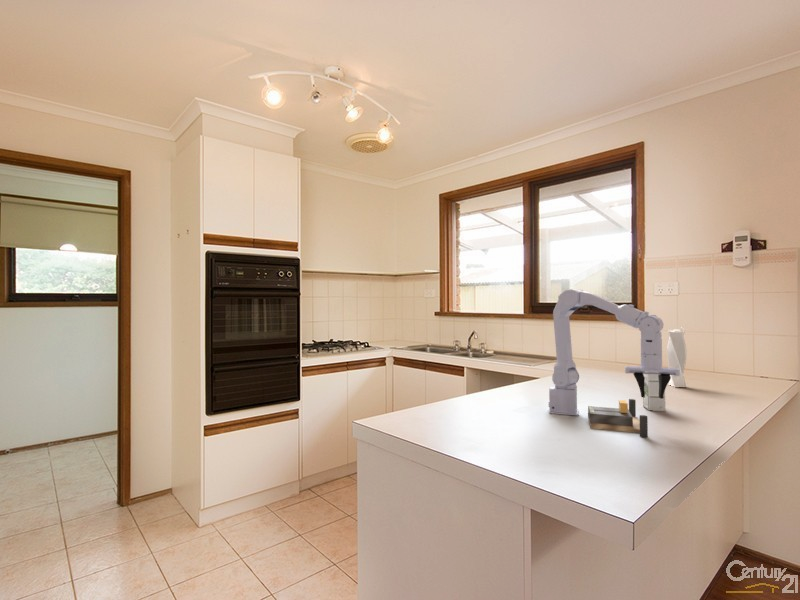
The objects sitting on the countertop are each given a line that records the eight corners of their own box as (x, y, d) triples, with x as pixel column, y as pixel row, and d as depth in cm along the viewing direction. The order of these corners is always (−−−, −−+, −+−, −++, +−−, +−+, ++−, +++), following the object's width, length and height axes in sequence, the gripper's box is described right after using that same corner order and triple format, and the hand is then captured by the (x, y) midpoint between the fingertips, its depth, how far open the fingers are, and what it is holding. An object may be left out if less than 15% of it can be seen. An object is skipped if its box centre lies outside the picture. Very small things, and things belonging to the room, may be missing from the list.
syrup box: (666, 411, 149) (665, 371, 149) (648, 410, 150) (647, 370, 150) (659, 407, 154) (659, 368, 155) (642, 406, 156) (641, 368, 156)
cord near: (640, 437, 121) (640, 416, 121) (639, 435, 122) (639, 414, 123) (648, 438, 120) (648, 417, 120) (647, 436, 122) (646, 415, 122)
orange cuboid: (620, 412, 131) (620, 403, 131) (618, 409, 135) (618, 400, 135) (627, 413, 130) (627, 403, 131) (625, 409, 135) (625, 400, 135)
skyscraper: (691, 388, 188) (690, 326, 188) (674, 388, 188) (674, 326, 188) (679, 384, 196) (679, 325, 196) (663, 385, 196) (663, 325, 196)
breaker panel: (590, 428, 130) (590, 415, 130) (587, 415, 144) (587, 404, 144) (645, 433, 124) (645, 419, 124) (637, 420, 138) (637, 407, 138)
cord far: (629, 417, 141) (629, 400, 141) (628, 416, 143) (628, 398, 143) (636, 418, 140) (635, 400, 140) (635, 416, 142) (635, 399, 142)
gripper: (626, 354, 129) (627, 398, 129) (681, 356, 124) (682, 402, 124) (623, 352, 136) (624, 393, 136) (676, 353, 130) (676, 397, 130)
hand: (651, 397), depth 130 cm, fingers open, 4 cm apart
